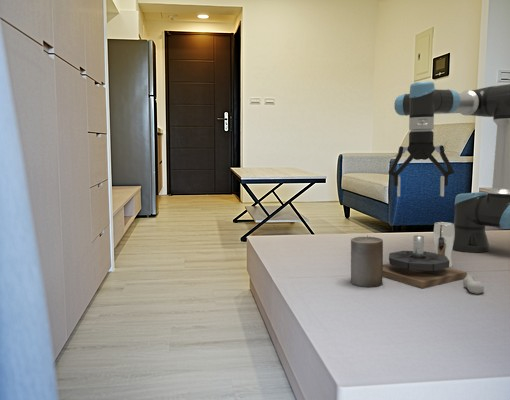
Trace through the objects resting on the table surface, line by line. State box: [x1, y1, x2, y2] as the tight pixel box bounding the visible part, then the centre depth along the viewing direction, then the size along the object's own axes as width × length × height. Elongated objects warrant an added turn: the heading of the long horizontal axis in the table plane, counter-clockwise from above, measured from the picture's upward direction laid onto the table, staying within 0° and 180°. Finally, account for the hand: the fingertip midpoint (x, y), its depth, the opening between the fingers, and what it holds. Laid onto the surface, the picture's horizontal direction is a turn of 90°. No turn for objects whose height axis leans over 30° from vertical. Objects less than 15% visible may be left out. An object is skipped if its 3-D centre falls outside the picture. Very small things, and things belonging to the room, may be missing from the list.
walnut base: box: [382, 263, 468, 289], centre depth 154 cm, size 21×21×2 cm
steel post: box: [412, 234, 425, 271], centre depth 154 cm, size 4×4×11 cm
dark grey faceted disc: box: [388, 250, 450, 271], centre depth 154 cm, size 18×18×2 cm
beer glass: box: [433, 221, 455, 268], centre depth 166 cm, size 7×7×15 cm
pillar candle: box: [350, 234, 384, 288], centre depth 146 cm, size 10×10×15 cm
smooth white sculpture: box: [462, 274, 485, 295], centre depth 138 cm, size 4×8×5 cm
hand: (420, 196), depth 156 cm, fingers open, 13 cm apart
